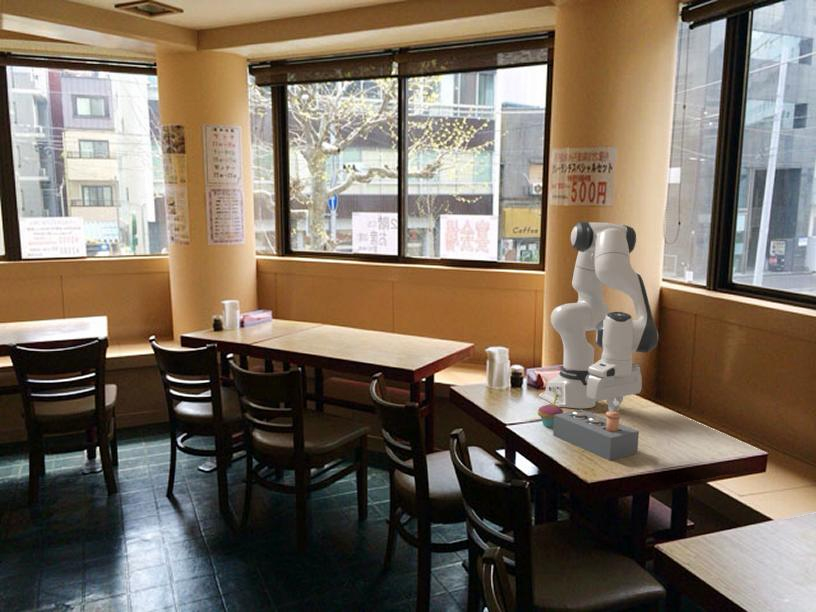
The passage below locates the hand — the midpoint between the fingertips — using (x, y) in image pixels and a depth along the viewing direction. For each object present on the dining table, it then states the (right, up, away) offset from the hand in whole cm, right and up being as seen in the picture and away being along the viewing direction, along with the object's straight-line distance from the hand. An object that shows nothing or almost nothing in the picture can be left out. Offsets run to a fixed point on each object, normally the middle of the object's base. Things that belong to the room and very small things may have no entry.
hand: (613, 410), depth 195 cm
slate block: (-4, -12, +8) cm, 15 cm away
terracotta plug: (0, -9, +1) cm, 9 cm away
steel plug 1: (-7, -10, +14) cm, 19 cm away
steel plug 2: (-4, -11, +8) cm, 14 cm away
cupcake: (-14, -9, +25) cm, 30 cm away
